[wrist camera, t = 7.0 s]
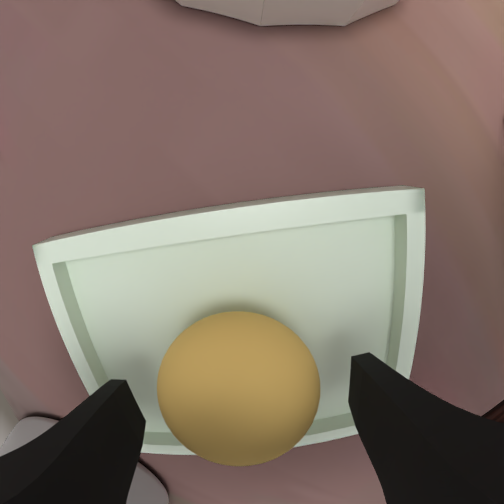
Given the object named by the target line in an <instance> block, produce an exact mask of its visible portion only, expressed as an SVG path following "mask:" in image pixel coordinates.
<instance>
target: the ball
mask: <svg viewBox="0 0 504 504" xmlns="http://www.w3.org/2000/svg"><path fill="white" fill-rule="evenodd" d="M157 398H158V403H159V407H160V411H161V414H162V416H163V418H164V421H165V423H166V425H167V426H168V428H169V429H170V431H171V432H172V434H173V435H174V436H175V437H176V438H177V440H178V441H179V442H180V443H181V444H182V445H184V446H185V447H186V448H187V449H188V450H190V451H191V452H193V453H195V454H196V455H198V456H200V457H202V458H204V459H206V460H208V461H211V462H214V463H218V464H223V465H229V466H250V465H257V464H261V463H265V462H268V461H270V460H273V459H275V458H277V457H279V456H281V455H283V454H284V453H286V452H287V451H289V450H290V449H291V448H293V447H294V446H295V445H296V444H297V443H298V442H299V441H300V440H301V439H302V438H303V437H304V435H305V434H306V433H307V431H308V430H309V428H310V426H311V425H312V423H313V420H314V418H315V416H316V413H317V411H318V406H319V401H320V378H319V373H318V369H317V366H316V363H315V360H314V358H313V356H312V354H311V352H310V351H309V349H308V347H307V346H306V345H305V344H304V342H303V341H302V340H301V339H300V337H299V336H298V335H297V334H296V333H294V332H293V331H292V330H291V329H289V328H288V327H287V326H285V325H284V324H282V323H281V322H279V321H277V320H275V319H273V318H270V317H268V316H265V315H262V314H257V313H253V312H244V311H232V312H223V313H218V314H214V315H211V316H208V317H205V318H203V319H201V320H199V321H197V322H195V323H194V324H192V325H191V326H189V327H188V328H186V329H185V330H184V331H183V332H182V333H181V334H180V335H178V337H177V338H176V339H175V340H174V341H173V343H172V344H171V345H170V346H169V348H168V350H167V352H166V354H165V355H164V357H163V359H162V362H161V365H160V368H159V372H158V378H157Z"/></svg>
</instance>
